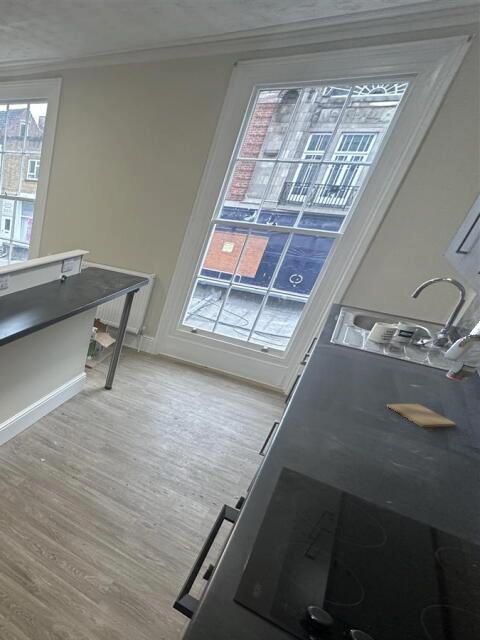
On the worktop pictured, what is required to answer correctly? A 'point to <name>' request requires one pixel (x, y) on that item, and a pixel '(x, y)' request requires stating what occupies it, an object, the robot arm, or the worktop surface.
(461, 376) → the pill bottle
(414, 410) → the board
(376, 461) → the worktop surface
